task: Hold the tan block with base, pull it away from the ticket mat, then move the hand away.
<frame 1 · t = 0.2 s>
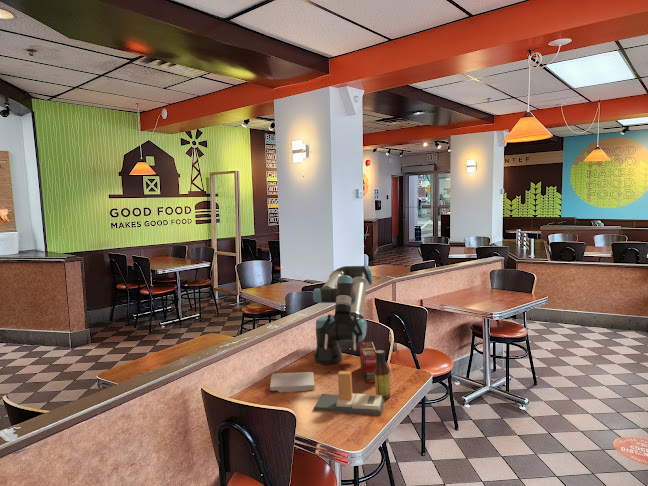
hand: (339, 349, 199), 16 cm above the table, tool tilted 35°, fingers open, 13 cm apart
ice cream box: (369, 375, 207), on the table
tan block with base: (345, 386, 177), point 8 cm above the table, slide at 0.0 cm
ticket mat: (349, 405, 177), on the table
grey flat slab: (292, 386, 201), on the table
sauce bottle: (383, 397, 184), on the table
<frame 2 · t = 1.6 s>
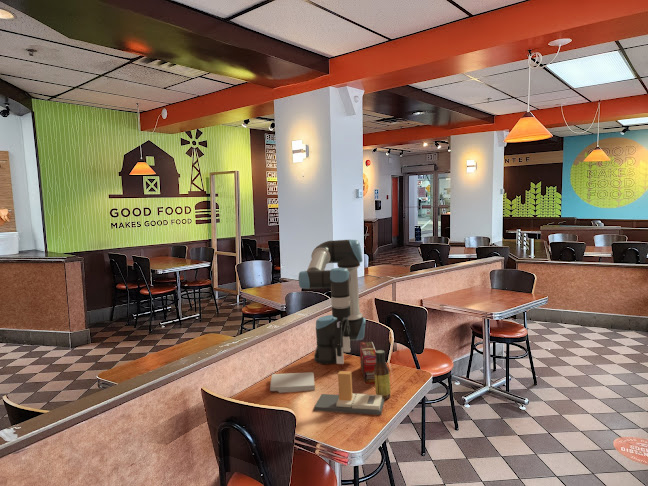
hand: (343, 357, 176), 20 cm above the table, tool pointing down, fingers open, 13 cm apart
nothing on the table moved.
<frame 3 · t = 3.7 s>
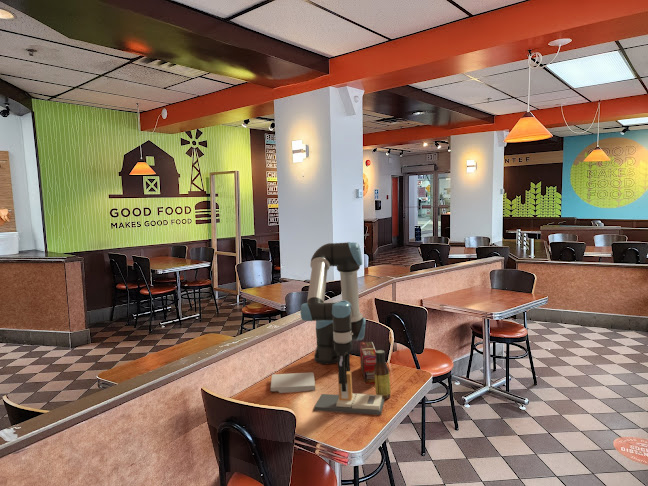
hand: (345, 396, 177), 4 cm above the table, tool pointing down, fingers closed on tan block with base, 3 cm apart
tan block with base: (345, 386, 177), point 8 cm above the table, slide at 0.0 cm, touching gripper
everything else where it was.
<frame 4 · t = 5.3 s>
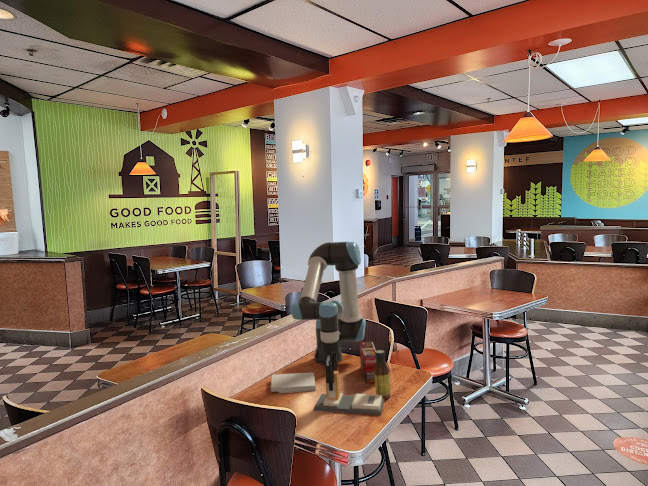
hand: (333, 395, 179), 4 cm above the table, tool pointing down, fingers closed on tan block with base, 3 cm apart
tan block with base: (332, 386, 178), point 8 cm above the table, slide at 5.4 cm, touching gripper
everything else where it was.
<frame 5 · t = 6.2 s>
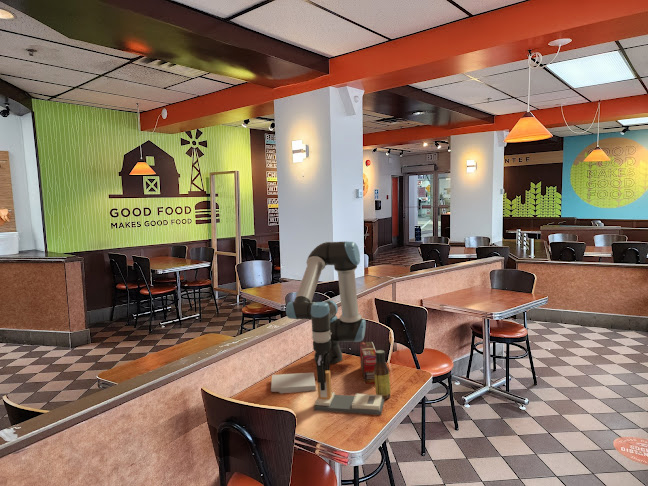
hand: (325, 394, 179), 4 cm above the table, tool pointing down, fingers closed on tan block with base, 3 cm apart
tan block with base: (324, 385, 179), point 8 cm above the table, slide at 8.9 cm, touching gripper
everything else where it was.
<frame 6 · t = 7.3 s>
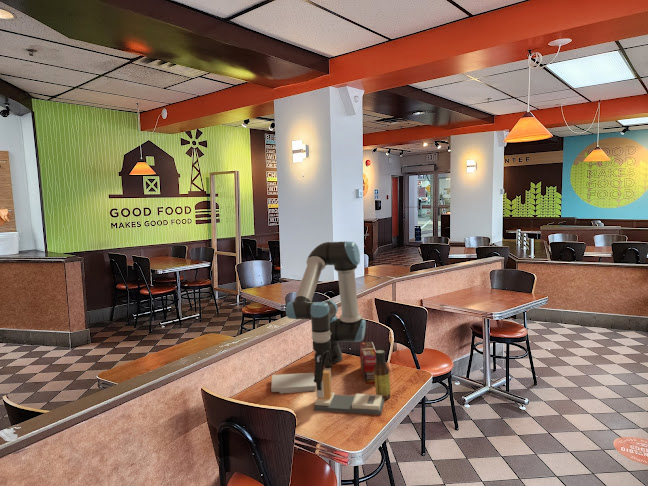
hand: (324, 389, 179), 6 cm above the table, tool pointing down, fingers open, 13 cm apart
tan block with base: (324, 385, 179), point 8 cm above the table, slide at 8.9 cm
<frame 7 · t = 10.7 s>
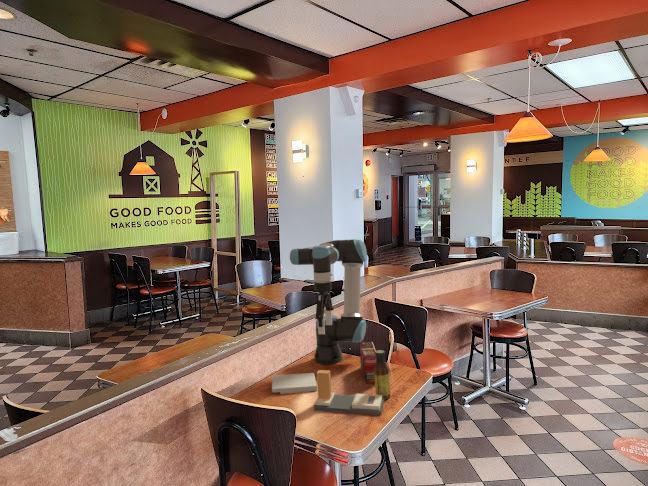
hand: (325, 329, 188), 29 cm above the table, tool pointing down, fingers open, 13 cm apart
at the end: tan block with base slide at 8.9 cm; the gripper is holding nothing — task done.
